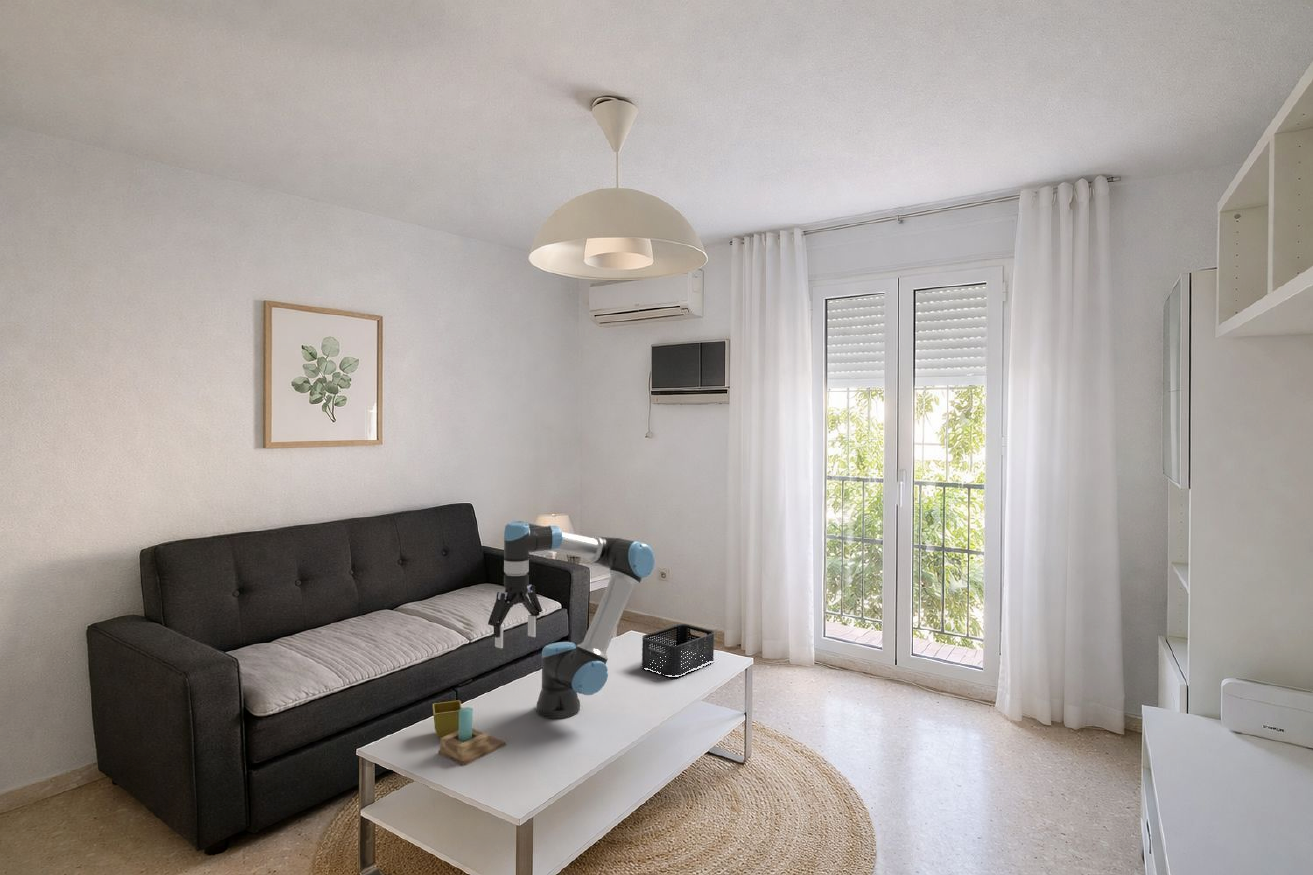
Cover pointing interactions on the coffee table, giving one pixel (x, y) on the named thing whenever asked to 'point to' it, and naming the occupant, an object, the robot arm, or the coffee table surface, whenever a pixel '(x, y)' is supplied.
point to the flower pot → (446, 717)
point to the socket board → (468, 746)
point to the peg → (465, 724)
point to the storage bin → (677, 649)
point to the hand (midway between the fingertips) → (515, 641)
